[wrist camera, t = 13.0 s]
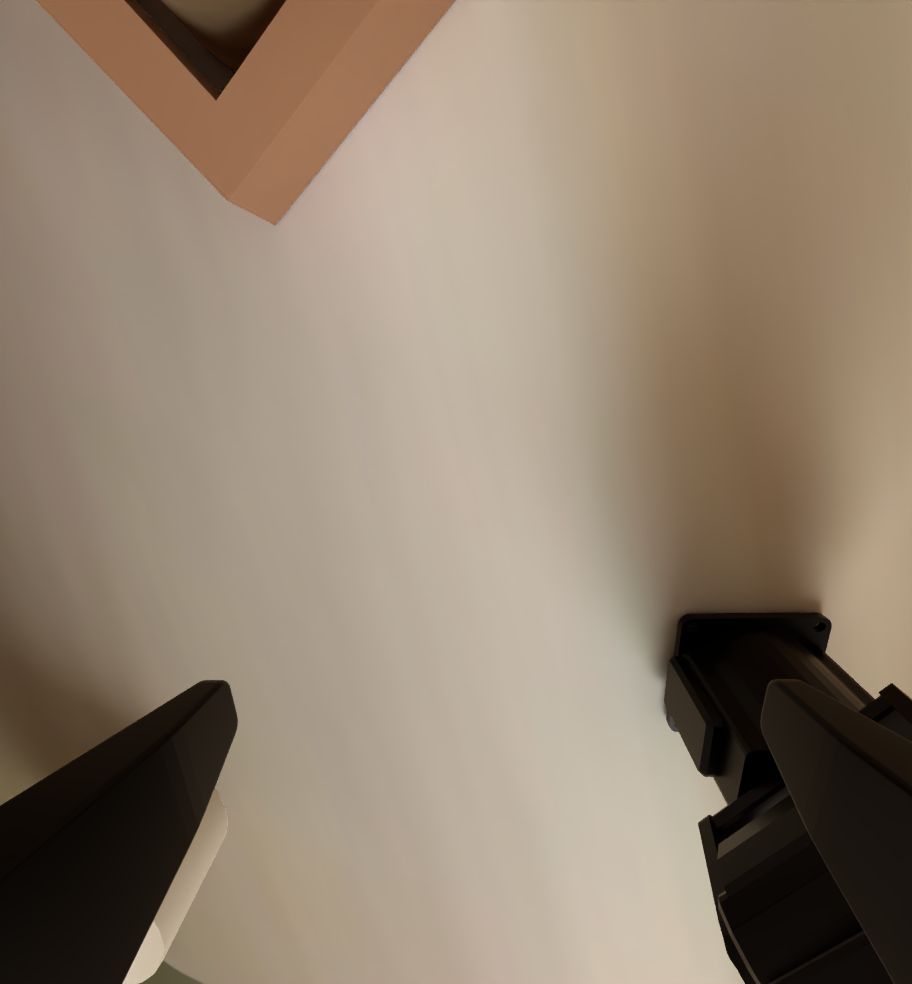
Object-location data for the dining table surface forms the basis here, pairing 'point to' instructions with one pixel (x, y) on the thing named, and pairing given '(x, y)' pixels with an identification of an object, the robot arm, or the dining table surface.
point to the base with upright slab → (181, 891)
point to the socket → (257, 86)
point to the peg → (226, 24)
